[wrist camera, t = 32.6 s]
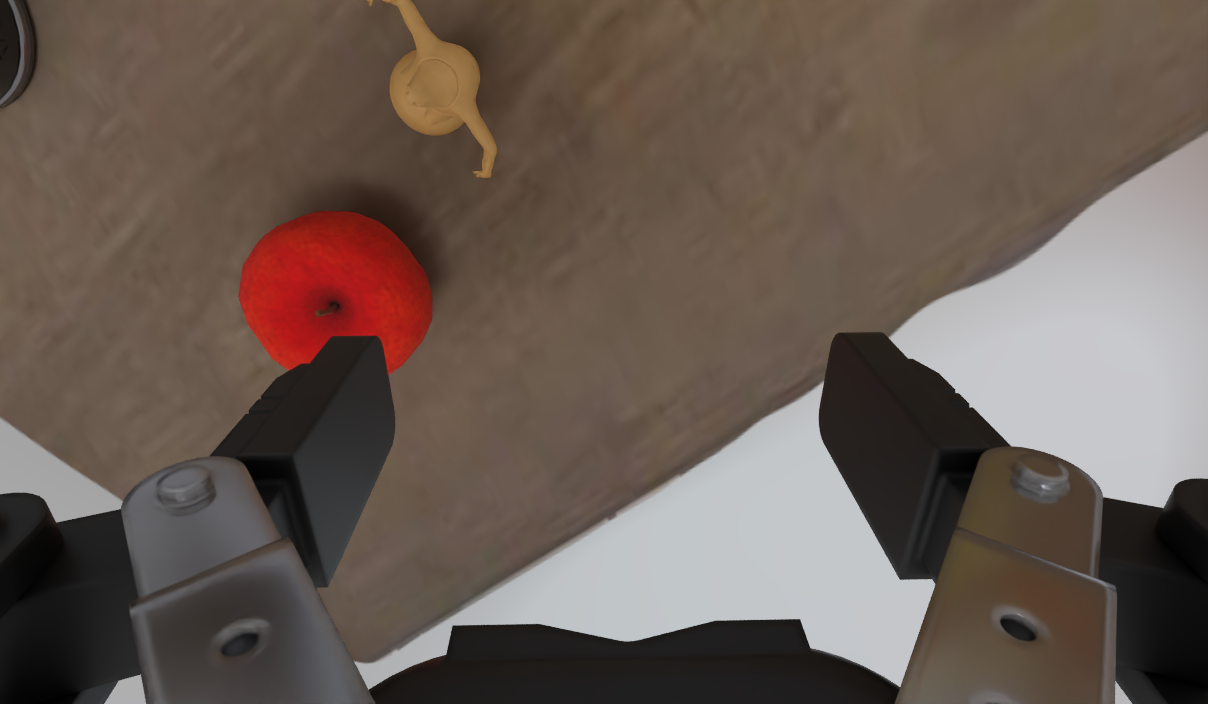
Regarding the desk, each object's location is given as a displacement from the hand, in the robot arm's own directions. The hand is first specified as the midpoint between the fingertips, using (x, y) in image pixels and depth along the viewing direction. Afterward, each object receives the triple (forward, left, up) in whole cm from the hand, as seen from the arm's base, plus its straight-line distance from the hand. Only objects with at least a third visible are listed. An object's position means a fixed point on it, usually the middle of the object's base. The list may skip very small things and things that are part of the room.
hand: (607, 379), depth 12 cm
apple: (-13, -7, -26) cm, 30 cm away
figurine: (-7, +3, -26) cm, 27 cm away
